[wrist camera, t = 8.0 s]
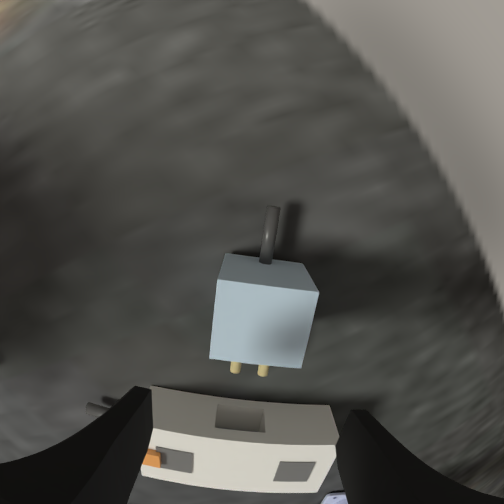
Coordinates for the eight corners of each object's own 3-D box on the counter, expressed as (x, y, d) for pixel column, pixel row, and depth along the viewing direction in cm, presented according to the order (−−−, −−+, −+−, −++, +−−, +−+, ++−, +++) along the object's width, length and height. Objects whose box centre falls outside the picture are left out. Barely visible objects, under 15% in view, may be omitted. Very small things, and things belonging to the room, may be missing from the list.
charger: (283, 358, 20) (291, 404, 15) (214, 350, 19) (205, 395, 15) (311, 211, 17) (332, 224, 13) (232, 199, 17) (226, 208, 13)
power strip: (309, 454, 22) (317, 497, 18) (98, 424, 22) (79, 461, 17) (329, 405, 21) (343, 449, 16) (88, 370, 20) (61, 407, 16)
